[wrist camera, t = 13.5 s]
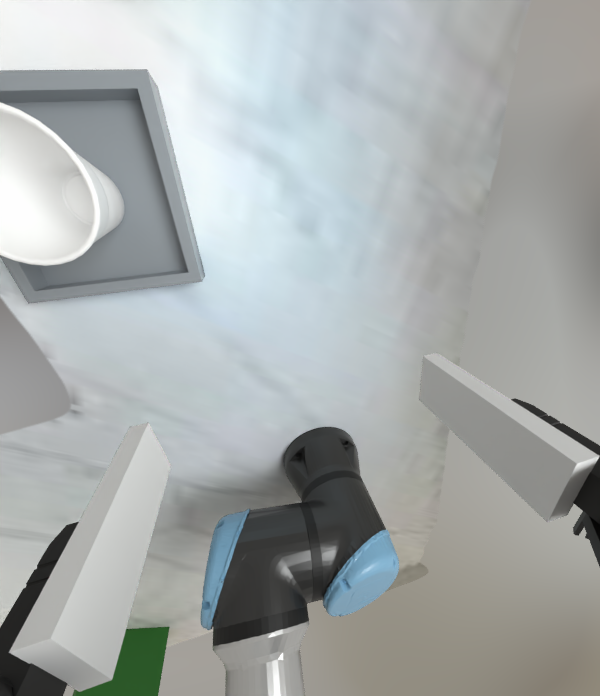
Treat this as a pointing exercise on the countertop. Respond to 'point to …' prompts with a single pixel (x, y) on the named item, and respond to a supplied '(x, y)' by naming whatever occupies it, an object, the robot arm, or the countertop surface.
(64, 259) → the cup
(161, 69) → the countertop surface
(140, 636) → the hardback book
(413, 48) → the countertop surface
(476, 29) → the countertop surface
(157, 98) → the tray
